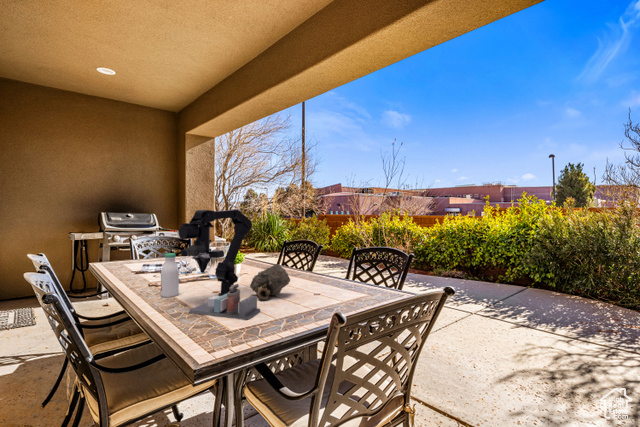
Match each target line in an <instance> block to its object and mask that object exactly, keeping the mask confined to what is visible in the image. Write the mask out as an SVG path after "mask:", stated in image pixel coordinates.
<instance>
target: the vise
mask: <svg viewBox="0 0 640 427" xmlns="http://www.w3.org/2000/svg"><path fill="white" fill-rule="evenodd" d="M188 311H189V313H188V314H195V315H196V314H197V315H204V316H212V317H221V318H230V319H238V320H245V321H246V320H247V321H248V320H250V319H251V318H253V317H255V316H256V315H258V314H259V313H261V308H258V295H250V296H248V297H246V298H244V299H242V300H240V302H239V303H238V311H236V312H234V313H230V314H229V313H227V309H225V310H223V311H222V312H220V313H218V312H214V307H212V306H208V302H204V303H202V304H199V305H197V306H195V307H192V308H191V309H189V310H188Z"/></svg>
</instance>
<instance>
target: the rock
mask: <svg viewBox="0 0 640 427" xmlns="http://www.w3.org/2000/svg"><path fill="white" fill-rule="evenodd" d="M257 273H258V274H256V275H254V277H253V278H252V280H251V282H250V285H249V287H250V288H251V290H252V292H255V294H256V295H257V298H259V300H262V301H265V300H268V298H269V296H270V295H271V296H277V295H279V294H280V293H281V292H282V290H283V288H285V287H287V286H288V285H289V284H290V282H291V279H290V277H289V276H290V275H289V273H288V272H287V271H286V269H285V268H284V267H282V266H281V265H280V264H273V265H271V266H270V267H268V268H266V269H264V270H261V271H258V272H257Z"/></svg>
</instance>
